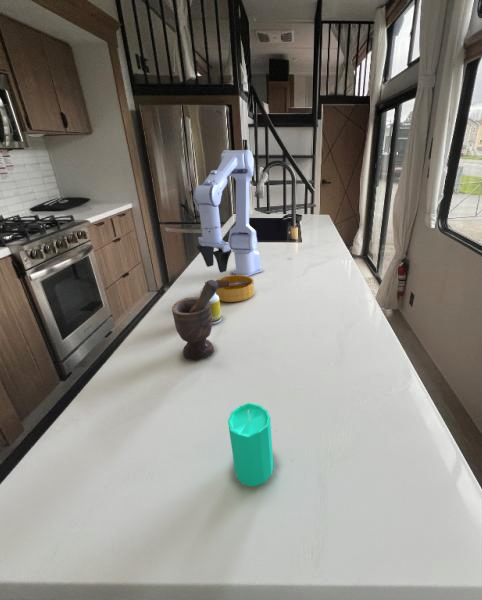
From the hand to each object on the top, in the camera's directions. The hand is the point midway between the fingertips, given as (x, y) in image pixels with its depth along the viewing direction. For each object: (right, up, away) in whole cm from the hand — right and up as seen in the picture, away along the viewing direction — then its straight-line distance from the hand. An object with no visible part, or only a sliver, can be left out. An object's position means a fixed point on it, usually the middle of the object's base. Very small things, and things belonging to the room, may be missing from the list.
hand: (216, 268), depth 104 cm
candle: (+18, -37, -54) cm, 68 cm away
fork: (+3, -6, +2) cm, 7 cm away
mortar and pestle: (+3, -23, -25) cm, 35 cm away
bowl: (+5, -8, +5) cm, 11 cm away
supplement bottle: (+1, -16, -11) cm, 19 cm away
